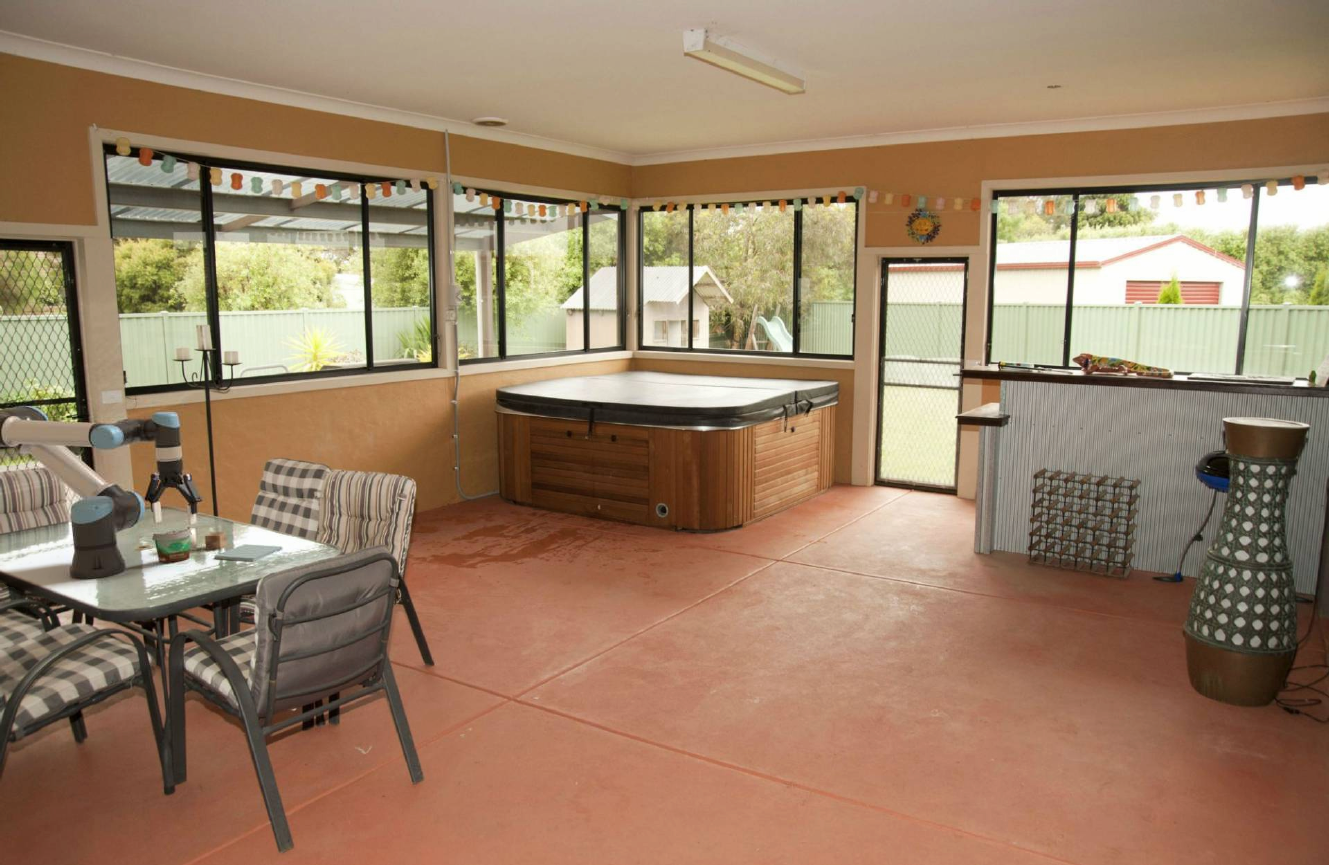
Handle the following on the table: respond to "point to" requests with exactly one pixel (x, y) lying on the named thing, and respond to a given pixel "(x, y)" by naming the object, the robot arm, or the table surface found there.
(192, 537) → the cream cylinder
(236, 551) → the teal board
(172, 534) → the food container
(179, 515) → the table surface
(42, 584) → the table surface
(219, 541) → the walnut block
